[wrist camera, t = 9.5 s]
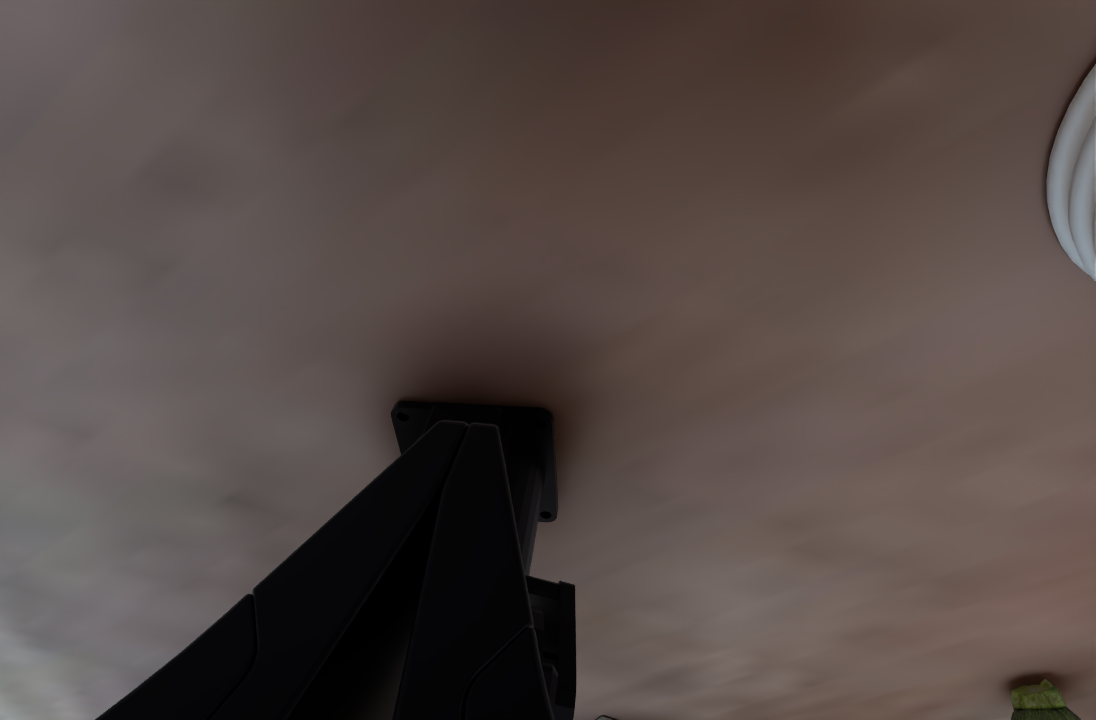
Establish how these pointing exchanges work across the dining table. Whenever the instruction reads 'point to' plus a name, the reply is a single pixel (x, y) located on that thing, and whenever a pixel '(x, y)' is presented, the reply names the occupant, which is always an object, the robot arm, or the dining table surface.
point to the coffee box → (604, 718)
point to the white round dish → (1076, 178)
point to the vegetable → (1040, 703)
